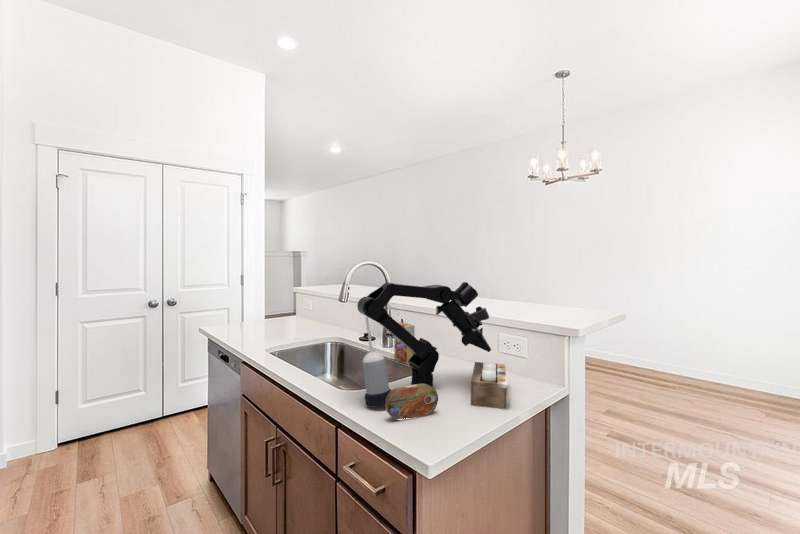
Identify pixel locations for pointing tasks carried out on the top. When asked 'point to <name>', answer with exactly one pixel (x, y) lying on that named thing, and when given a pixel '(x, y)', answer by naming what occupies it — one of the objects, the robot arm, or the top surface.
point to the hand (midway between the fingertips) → (490, 350)
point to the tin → (411, 401)
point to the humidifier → (375, 376)
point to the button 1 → (489, 375)
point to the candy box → (403, 345)
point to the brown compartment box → (489, 388)
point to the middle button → (489, 366)
